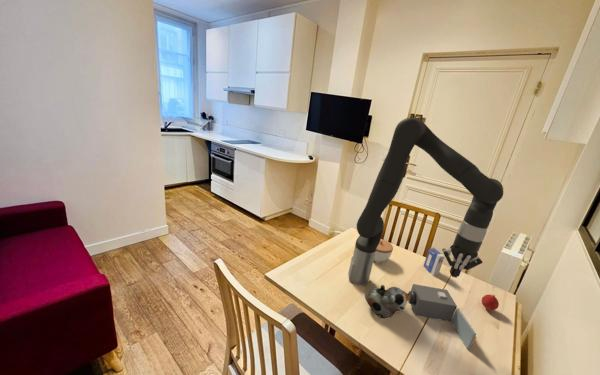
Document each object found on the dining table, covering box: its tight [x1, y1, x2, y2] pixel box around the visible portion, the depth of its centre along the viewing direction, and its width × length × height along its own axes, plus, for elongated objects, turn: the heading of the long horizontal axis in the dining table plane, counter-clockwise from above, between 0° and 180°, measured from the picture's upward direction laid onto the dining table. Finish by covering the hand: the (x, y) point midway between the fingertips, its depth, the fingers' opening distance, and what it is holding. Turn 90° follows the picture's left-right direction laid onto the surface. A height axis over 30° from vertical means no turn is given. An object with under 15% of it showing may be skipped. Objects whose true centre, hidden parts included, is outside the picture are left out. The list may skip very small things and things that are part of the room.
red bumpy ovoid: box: [481, 294, 500, 311], centre depth 106 cm, size 6×6×8 cm
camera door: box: [450, 307, 477, 350], centre depth 91 cm, size 12×2×7 cm, turn 176°
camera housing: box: [407, 283, 458, 323], centre depth 102 cm, size 16×9×9 cm, turn 83°
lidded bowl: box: [373, 238, 394, 264], centre depth 133 cm, size 13×13×11 cm
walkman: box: [423, 247, 446, 277], centre depth 127 cm, size 8×3×12 cm, turn 11°
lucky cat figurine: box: [364, 284, 410, 320], centre depth 99 cm, size 15×12×14 cm
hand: (453, 275), depth 91 cm, fingers closed
